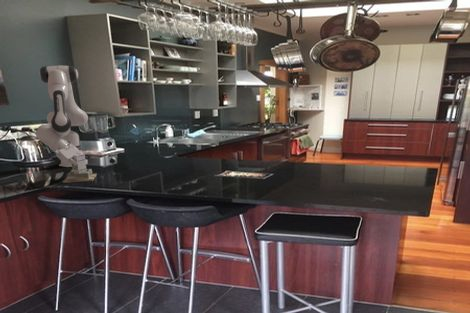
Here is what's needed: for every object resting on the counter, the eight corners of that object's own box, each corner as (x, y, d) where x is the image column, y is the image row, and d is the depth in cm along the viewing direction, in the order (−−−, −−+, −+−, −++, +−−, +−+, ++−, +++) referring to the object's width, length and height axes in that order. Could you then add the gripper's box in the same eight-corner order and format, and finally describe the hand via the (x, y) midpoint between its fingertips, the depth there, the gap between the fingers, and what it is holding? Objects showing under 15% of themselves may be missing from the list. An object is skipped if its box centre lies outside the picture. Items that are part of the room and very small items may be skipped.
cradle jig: (69, 176, 204) (68, 169, 203) (96, 175, 207) (96, 168, 206) (63, 182, 191) (62, 175, 190) (92, 180, 194) (91, 173, 193)
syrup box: (87, 176, 200) (85, 153, 197) (79, 178, 195) (76, 154, 192) (81, 175, 203) (78, 152, 200) (72, 177, 197) (70, 154, 195)
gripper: (56, 146, 184) (76, 162, 187) (71, 140, 204) (89, 155, 207) (49, 154, 184) (69, 170, 187) (64, 148, 204) (82, 163, 207)
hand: (79, 162), depth 197 cm, fingers open, 8 cm apart
